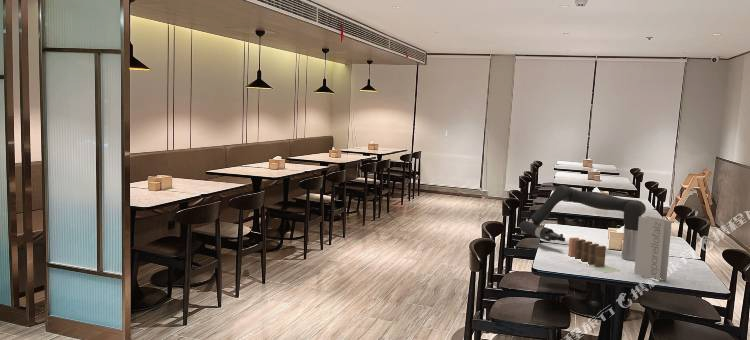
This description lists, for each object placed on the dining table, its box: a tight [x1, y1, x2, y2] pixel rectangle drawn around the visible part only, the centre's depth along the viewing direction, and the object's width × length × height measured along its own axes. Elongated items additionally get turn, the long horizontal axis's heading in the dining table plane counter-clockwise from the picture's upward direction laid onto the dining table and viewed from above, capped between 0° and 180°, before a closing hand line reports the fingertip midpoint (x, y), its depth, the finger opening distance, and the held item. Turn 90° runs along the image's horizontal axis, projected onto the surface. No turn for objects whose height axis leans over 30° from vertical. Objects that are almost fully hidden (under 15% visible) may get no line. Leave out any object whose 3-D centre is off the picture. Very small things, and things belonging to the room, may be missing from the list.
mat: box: [588, 264, 622, 273], centre depth 307 cm, size 36×11×1 cm, turn 22°
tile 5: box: [594, 245, 607, 267], centre depth 299 cm, size 2×5×11 cm, turn 112°
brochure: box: [633, 215, 673, 282], centre depth 282 cm, size 14×6×30 cm, turn 27°
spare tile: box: [567, 236, 580, 257], centre depth 317 cm, size 2×5×11 cm, turn 113°
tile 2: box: [575, 238, 587, 259], centre depth 313 cm, size 2×5×11 cm, turn 112°
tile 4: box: [588, 243, 600, 265], centre depth 303 cm, size 2×5×11 cm, turn 112°
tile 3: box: [581, 240, 593, 262], centre depth 308 cm, size 2×5×11 cm, turn 112°
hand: (564, 239), depth 324 cm, fingers closed
